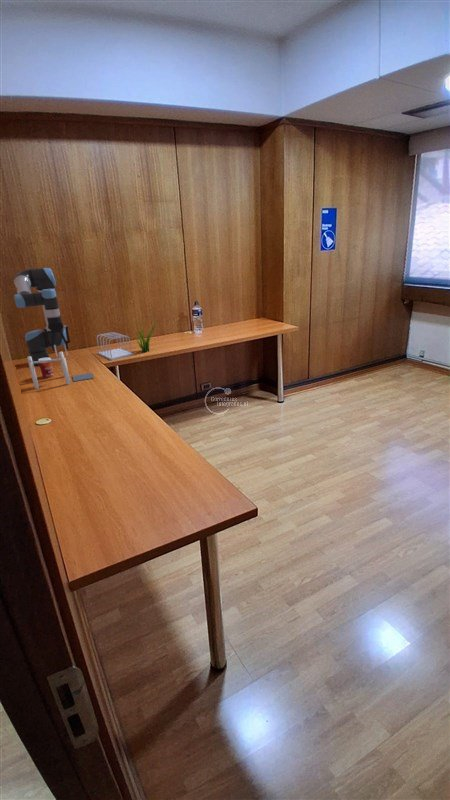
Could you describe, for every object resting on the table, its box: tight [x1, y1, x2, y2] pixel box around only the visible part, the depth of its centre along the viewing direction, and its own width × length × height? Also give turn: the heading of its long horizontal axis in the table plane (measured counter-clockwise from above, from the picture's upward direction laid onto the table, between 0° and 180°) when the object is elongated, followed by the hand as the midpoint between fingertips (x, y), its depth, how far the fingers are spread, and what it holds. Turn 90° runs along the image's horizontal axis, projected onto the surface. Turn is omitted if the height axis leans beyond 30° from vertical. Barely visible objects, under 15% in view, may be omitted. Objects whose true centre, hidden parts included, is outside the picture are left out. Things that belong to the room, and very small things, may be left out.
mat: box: [72, 372, 95, 383], centre depth 248 cm, size 12×12×1 cm
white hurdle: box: [26, 351, 72, 390], centre depth 239 cm, size 20×21×16 cm
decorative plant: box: [133, 309, 157, 353], centre depth 299 cm, size 18×30×15 cm
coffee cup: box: [38, 357, 55, 379], centre depth 253 cm, size 8×8×15 cm
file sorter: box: [96, 331, 134, 361], centre depth 295 cm, size 25×17×16 cm
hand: (61, 355), depth 239 cm, fingers open, 5 cm apart
